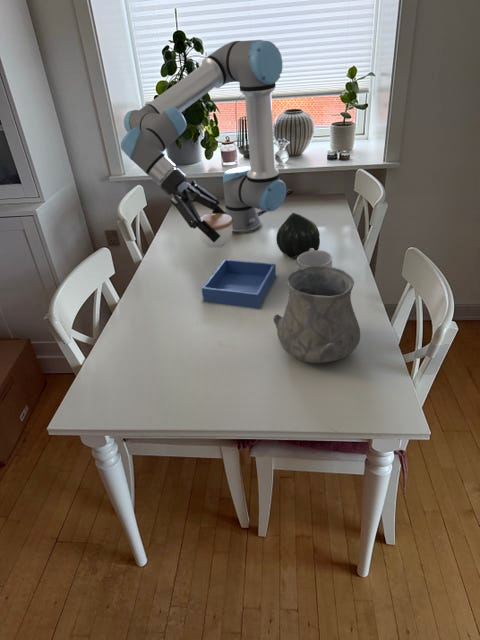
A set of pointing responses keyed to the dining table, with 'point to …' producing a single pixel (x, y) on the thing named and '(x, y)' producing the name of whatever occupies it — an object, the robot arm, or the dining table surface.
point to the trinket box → (217, 229)
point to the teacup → (314, 259)
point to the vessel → (318, 315)
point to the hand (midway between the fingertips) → (224, 231)
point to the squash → (297, 236)
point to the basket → (239, 283)
